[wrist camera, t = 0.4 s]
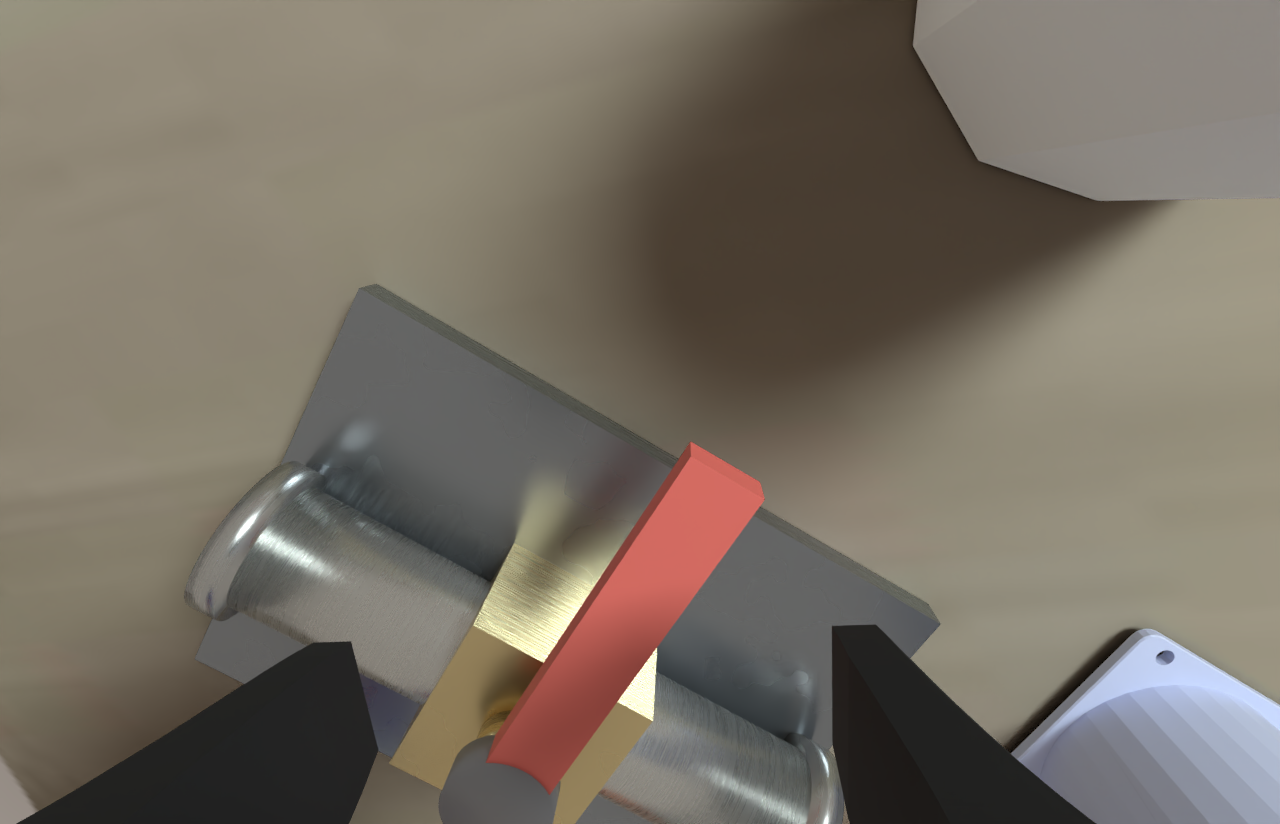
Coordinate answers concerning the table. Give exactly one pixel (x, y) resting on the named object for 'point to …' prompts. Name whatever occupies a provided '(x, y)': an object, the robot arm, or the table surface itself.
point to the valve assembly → (528, 584)
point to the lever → (603, 645)
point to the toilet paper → (1114, 92)
